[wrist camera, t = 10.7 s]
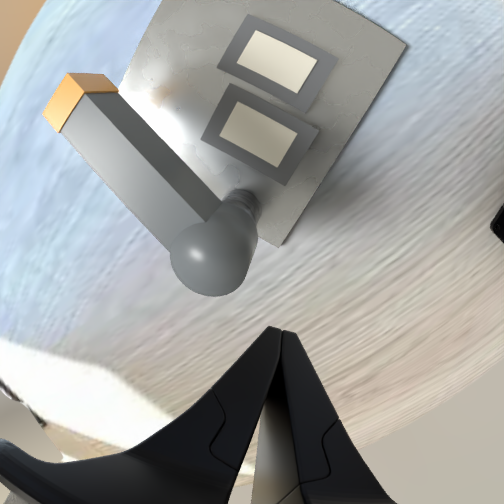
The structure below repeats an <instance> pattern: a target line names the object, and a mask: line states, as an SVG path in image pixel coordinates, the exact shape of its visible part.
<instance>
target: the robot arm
mask: <svg viewBox="0 0 504 504" xmlns="http://www.w3.org/2000/svg"><path fill="white" fill-rule="evenodd" d="M497 224H498V226H497V228H496V229H495V227H496V225H497ZM490 229H491V231H492V232H493V233H494V234H495V235H496V236H497V237H498V238H499V239H500V240H501V241H502V242H503V243H504V204H503V206H502V207H501V209H500V210H499V212H498V213H497V215H496V216H495V218H494V219H493V221H492V222H491V224H490ZM260 415H261V418H260ZM259 418H260V428H259V437H258V446H257V456H256V465H255V473H254V482H253V491H252V500H251V504H397V503H396V502H395V501H393V500H392V499H391V498H390V497H389V496H388V495H387V493H386V492H385V491H384V489H383V488H382V487H381V485H380V484H379V482H378V481H377V479H376V478H375V476H374V475H373V473H372V472H371V470H370V469H369V467H368V466H367V464H366V463H365V462H364V460H363V459H362V457H361V455H360V454H359V452H358V451H357V449H356V447H355V446H354V444H353V443H352V441H351V439H350V437H349V435H348V433H347V432H346V430H345V428H344V426H343V424H342V422H341V420H340V419H339V416H338V414H337V412H336V410H335V408H334V406H333V404H332V403H331V401H330V399H329V397H328V395H327V393H326V391H325V389H324V387H323V385H322V383H321V381H320V379H319V377H318V375H317V373H316V371H315V369H314V367H313V365H312V363H311V361H310V359H309V357H308V355H307V353H306V351H305V349H304V347H303V345H302V344H301V342H300V340H299V338H298V336H297V334H296V333H294V332H290V331H287V330H283V331H282V330H281V329H279V328H275V327H272V326H268V327H267V328H266V329H265V330H264V331H263V332H262V333H261V335H260V336H259V337H258V338H257V339H256V340H255V341H254V342H253V343H252V344H251V345H250V347H249V348H248V349H247V350H246V351H245V352H244V353H243V354H242V355H241V356H240V357H239V358H238V360H237V361H236V362H235V363H234V364H233V365H232V366H231V367H230V368H229V369H228V370H227V371H226V372H225V373H224V374H223V375H222V376H221V378H220V379H219V380H218V381H217V382H216V383H215V384H214V385H213V386H212V387H211V388H210V389H209V390H208V391H207V392H206V393H205V394H204V395H203V396H202V397H201V398H200V399H199V400H198V401H197V402H196V403H194V404H193V405H192V406H191V407H190V408H189V409H188V410H186V411H185V412H184V413H183V414H181V415H180V416H179V417H177V418H176V419H175V420H173V421H172V422H170V423H169V424H168V425H166V426H165V427H163V428H162V429H160V430H159V431H158V432H156V433H155V434H153V435H152V436H150V437H149V438H147V439H146V440H144V441H143V442H141V443H140V444H138V445H136V446H134V447H133V448H131V449H129V450H126V451H124V452H121V453H117V454H112V455H107V456H102V457H96V458H91V459H85V460H79V461H72V462H65V463H50V462H44V461H41V460H38V459H36V458H34V457H32V456H30V455H28V454H27V453H26V452H24V451H23V450H21V449H20V448H19V447H17V446H15V445H14V444H13V443H11V442H9V441H7V440H5V439H2V438H0V482H1V483H2V484H3V485H5V487H7V488H8V489H9V490H10V491H11V492H10V493H9V495H8V497H7V499H6V500H5V502H4V504H228V501H229V498H230V495H231V492H232V489H233V486H234V483H235V481H236V478H237V476H238V473H239V471H240V468H241V465H242V463H243V460H244V458H245V455H246V453H247V450H248V447H249V445H250V442H251V439H252V437H253V434H254V431H255V429H256V426H257V423H258V420H259Z"/></svg>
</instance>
